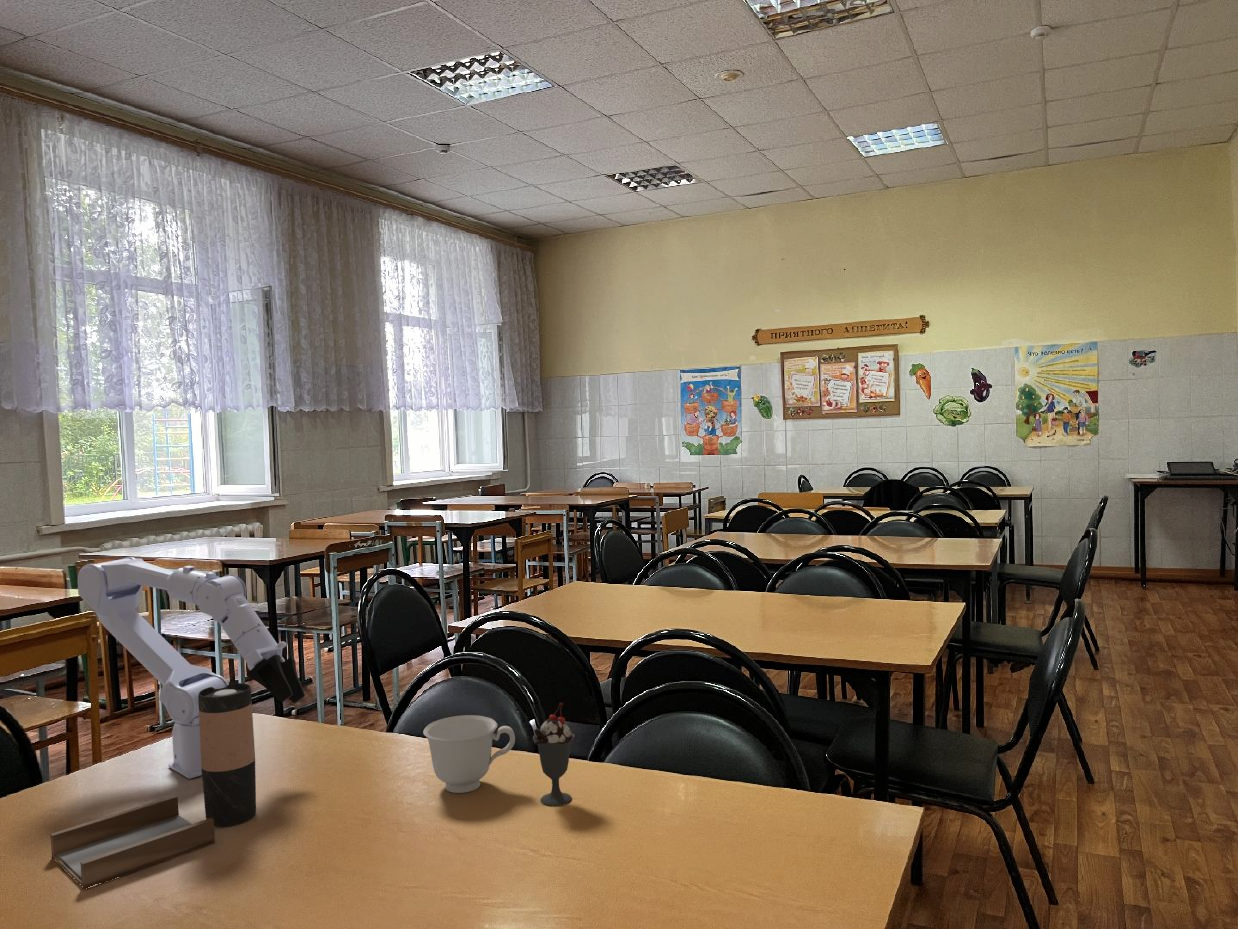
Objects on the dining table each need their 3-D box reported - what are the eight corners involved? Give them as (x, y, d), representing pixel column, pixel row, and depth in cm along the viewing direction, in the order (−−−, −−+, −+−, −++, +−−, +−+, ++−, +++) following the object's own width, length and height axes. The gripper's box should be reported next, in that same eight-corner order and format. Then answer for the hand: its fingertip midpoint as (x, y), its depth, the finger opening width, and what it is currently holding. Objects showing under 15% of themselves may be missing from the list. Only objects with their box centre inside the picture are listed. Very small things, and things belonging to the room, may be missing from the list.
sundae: (579, 791, 145) (576, 699, 144) (573, 809, 138) (570, 712, 138) (539, 791, 146) (536, 699, 145) (531, 808, 139) (527, 712, 138)
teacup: (511, 800, 142) (509, 738, 142) (417, 802, 143) (415, 740, 142) (521, 771, 154) (519, 713, 154) (434, 773, 155) (432, 715, 154)
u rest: (51, 858, 128) (50, 834, 128) (176, 817, 140) (175, 795, 140) (84, 890, 118) (82, 864, 118) (215, 843, 131) (213, 819, 130)
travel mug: (238, 830, 135) (231, 698, 134) (193, 827, 136) (186, 696, 136) (268, 808, 142) (261, 683, 142) (224, 805, 144) (218, 682, 143)
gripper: (256, 616, 150) (302, 682, 147) (282, 625, 164) (324, 685, 161) (219, 643, 148) (264, 710, 146) (248, 649, 162) (290, 711, 160)
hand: (293, 699), depth 153 cm, fingers open, 7 cm apart
